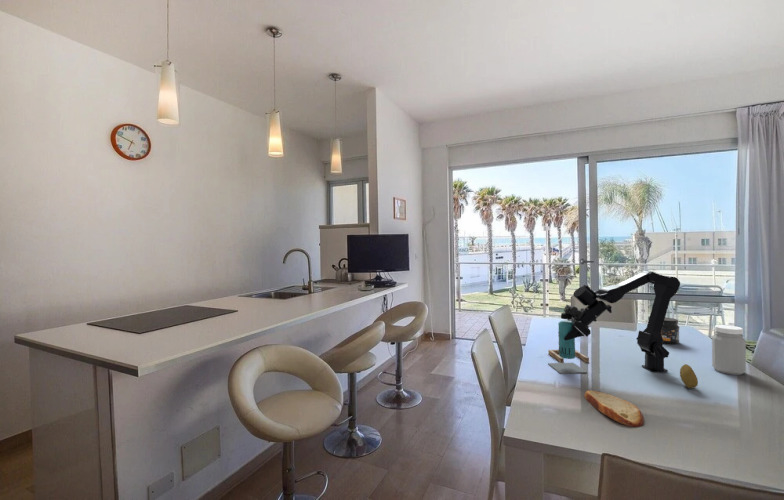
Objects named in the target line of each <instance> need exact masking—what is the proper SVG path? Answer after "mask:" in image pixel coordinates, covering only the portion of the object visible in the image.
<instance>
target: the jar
mask: <svg viewBox="0 0 784 500" xmlns="http://www.w3.org/2000/svg"><path fill="white" fill-rule="evenodd" d="M713 328H714V331H715V332H714V335H712V337H711V347H712V348H711V364H712V365H711V366H712V368H714V370H715V371H716V372H719V373H723V374H727V375H734V376H740V375H741V376H742V375H743V374H744V373H745V372H747V367H746V366H747V365H746V364H747V363H746V361H747V359H746V357H747V354H746V353H747V346H746V345H747V342H746V340H745V339H744V335H743V334H744V328H743V327H740V326H736V325H730V324H729V325H728V324H716V325H714V327H713Z"/></svg>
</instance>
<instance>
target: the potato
mask: <svg viewBox="0 0 784 500" xmlns="http://www.w3.org/2000/svg"><path fill="white" fill-rule="evenodd" d="M679 377H680V379H681V381H682V383H683V384H684V385H685V386H686V387H687V388H688V389H694V388H696V387H697V386H698V384H699V383H698V382H699V381H698V376H697V374H696V373H695V371H694V370H693V368H692V367H691V366H690V365H689V364H683V365H682V366H681V367H680V370H679Z"/></svg>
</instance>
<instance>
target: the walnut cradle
mask: <svg viewBox="0 0 784 500" xmlns="http://www.w3.org/2000/svg"><path fill="white" fill-rule="evenodd" d="M547 350H548V355H549V356H551V358H554V359H555V360H556V361H557V362H558V363H565V362H564V360H565V358H562V357H560V356H559V349H547ZM575 357H577V358H579V359H580V360H582V361H583V362H584V363H590V358H589V357H588V356H586V355H584V353H583V354H582V353H581V352H580V351H578V350H576V349H575Z"/></svg>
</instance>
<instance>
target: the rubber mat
mask: <svg viewBox="0 0 784 500" xmlns="http://www.w3.org/2000/svg"><path fill="white" fill-rule="evenodd" d="M547 365H548V366H549V367H551V368H552V369H553V370H554V371H556V372H557V373H558V374H560V375H561V374H562V375H563V374H567V375H568V374H570V375H571V374H587V373H588V372H587V370H585V369H584V368H582V367H580V366H579V365H577V364H576V363H574V362H564V363H560V362H551V363H550V362H549V363H547Z"/></svg>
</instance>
